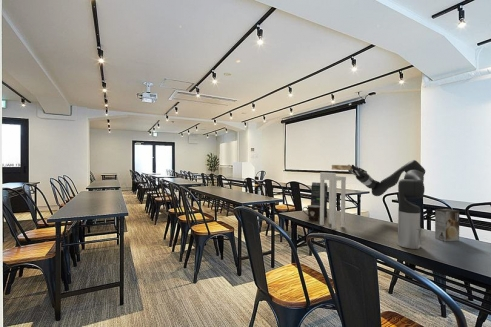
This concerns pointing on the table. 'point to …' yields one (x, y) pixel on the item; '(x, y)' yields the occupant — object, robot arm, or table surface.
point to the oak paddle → (342, 167)
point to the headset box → (318, 196)
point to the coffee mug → (313, 212)
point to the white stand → (332, 198)
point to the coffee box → (447, 224)
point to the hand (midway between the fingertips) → (350, 165)
